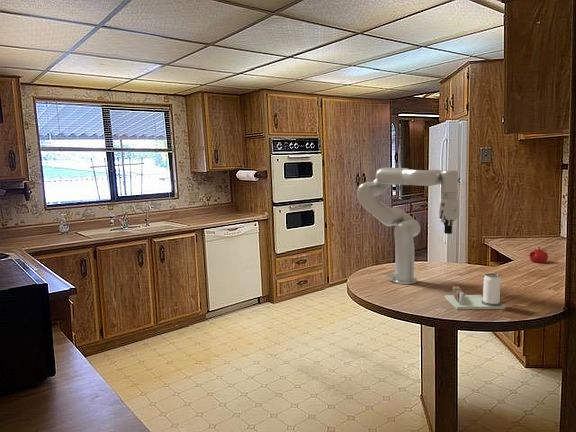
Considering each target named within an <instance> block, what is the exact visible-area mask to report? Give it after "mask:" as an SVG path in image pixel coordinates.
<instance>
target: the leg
mask: <svg viewBox="0 0 576 432" xmlns="http://www.w3.org/2000/svg"><path fill="white" fill-rule="evenodd" d="M460 293H464V291H463V290H462V289H461V287H460V286H459V285H452V295H453V296H454V297H455V299H456V300H457V302H459V295H460Z"/></svg>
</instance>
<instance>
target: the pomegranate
mask: <svg viewBox="0 0 576 432" xmlns="http://www.w3.org/2000/svg"><path fill="white" fill-rule="evenodd" d="M548 254H549V253H548V252H547V251H545V249H544V248H542V249H541V247H540V246H538V249H537V248H535V249H532V250H531V252H530V253H529V255H528V256H529V260H530V262H532V263H536V264H544V263H546V262H548V258H549V255H548Z"/></svg>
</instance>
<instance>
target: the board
mask: <svg viewBox="0 0 576 432" xmlns="http://www.w3.org/2000/svg"><path fill="white" fill-rule="evenodd" d="M483 287H484V282H483V283H482V289H481V291H482V292H481V294H465V292H463V293H460V295H459V302H457V300H456V299H455V297H454V296H453V294H445V295H444V299H446V300H447V302H449V304H450V305H452V306H453V307H454V308H455V310H506V305H504V304H503V303H502V302H501V301H500V302H499V304H487V303H485V302H484V301H483Z"/></svg>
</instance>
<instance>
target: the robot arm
mask: <svg viewBox="0 0 576 432" xmlns="http://www.w3.org/2000/svg"><path fill="white" fill-rule="evenodd" d="M392 185H398V186H399V185H401V186H424V187H432V186H437V185H440V203H439V219H440V222H441V223H443V227H444V232H443V233H444V234H447V235H452V234H453V225H454V222H455V221H456V220H457V219H458V218H459V217H460V215H459V214H460V210H459V206H460V205H459V199H458V193H459V192H458V189H459V187H458V186H459V173H458V170H455V169H445V170H441V169H429V170H428V169H426V170H423V169H410V168H408V167H380V168H378V169H377V171H376V172H375V179H373V180H372V181H366V182H365V181H364V182H363V183H362V184H360V185H359V186H358V188H357V190H356V191H357V192H356V198H357V201H358V203H359V204H360V205H361V206H362V207H363V208H364V209H365V210H366V211H367V212H369V213H370V214H371V215H372V216H373V217H374V218H375V219H377V220H378V221H379V222H381V224H383V225H384V226H386V227H393V226H395V227H394V230H393V236H394V237H393V238H394V244H395V248H394V251H395V252H394V253H395V255H394V256H395V260H394V263H395V265H394V269H395V270H394V271H393V272H392V273H386V274H385V277H386V278H389V279H391V281H392V282H393V283H396V284H399V285H412V284H416V283H417V282H418V279H417V277H415V241H414V237H416V236H418V235H419V234H420V232H421V225H420V223H419V221H418V220H417V219H415V218H414V217H413V216H411V215H410V214H408V213H407V212H406V211H405V210H403V209H401V208H400V207H397V206H394V207H393V206H392V207H389V206H388V205H387V204H385V203H384V202H383V201H381V200H380V199H378V198H377V197H378V196H380V195H382V194H383V193H384V192H386V190H387V189H388V188H390V187H391V186H392Z"/></svg>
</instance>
